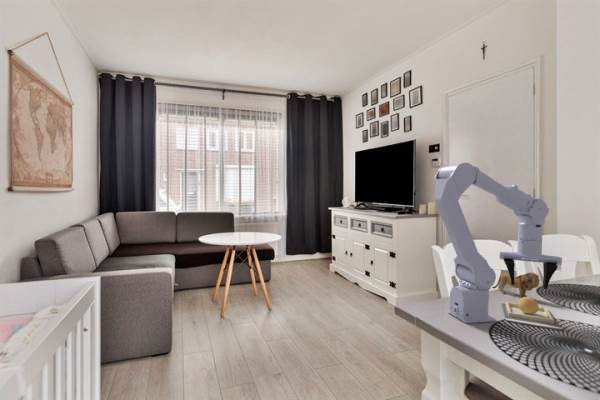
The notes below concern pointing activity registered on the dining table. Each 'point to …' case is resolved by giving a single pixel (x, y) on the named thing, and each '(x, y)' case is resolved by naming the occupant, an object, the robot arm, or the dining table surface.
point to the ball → (528, 305)
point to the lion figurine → (519, 282)
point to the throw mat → (530, 317)
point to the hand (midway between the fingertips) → (528, 286)
